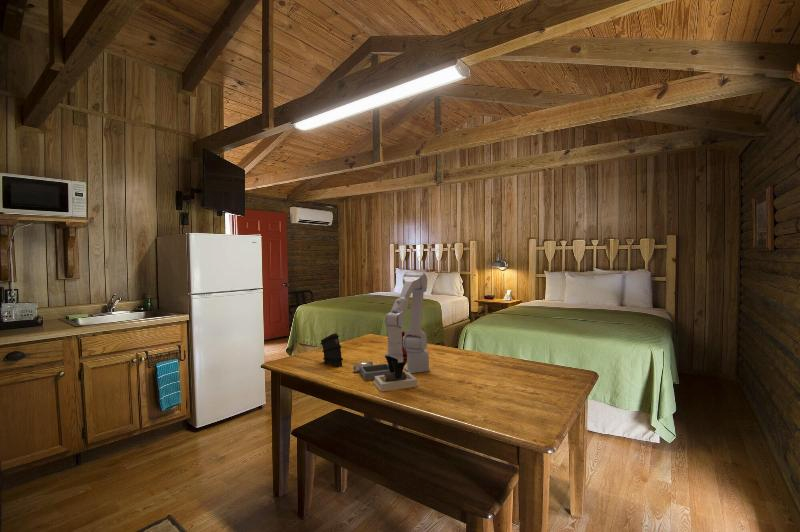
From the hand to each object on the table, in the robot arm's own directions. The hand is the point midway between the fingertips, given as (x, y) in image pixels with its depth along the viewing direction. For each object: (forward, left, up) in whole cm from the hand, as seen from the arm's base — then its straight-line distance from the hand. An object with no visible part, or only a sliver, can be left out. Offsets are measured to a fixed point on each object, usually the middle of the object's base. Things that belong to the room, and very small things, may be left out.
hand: (395, 375), depth 156 cm
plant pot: (-15, -35, -4) cm, 38 cm away
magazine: (+20, -38, -4) cm, 43 cm away
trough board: (0, 0, -4) cm, 4 cm away
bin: (+4, -14, -4) cm, 15 cm away
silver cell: (+8, -23, -1) cm, 25 cm away
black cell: (0, 0, -3) cm, 3 cm away
